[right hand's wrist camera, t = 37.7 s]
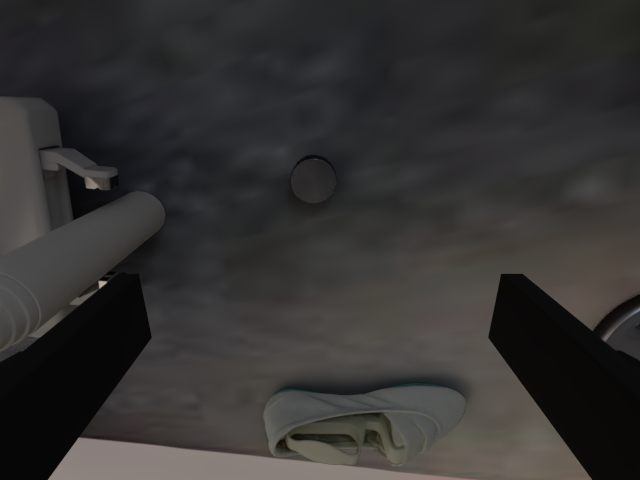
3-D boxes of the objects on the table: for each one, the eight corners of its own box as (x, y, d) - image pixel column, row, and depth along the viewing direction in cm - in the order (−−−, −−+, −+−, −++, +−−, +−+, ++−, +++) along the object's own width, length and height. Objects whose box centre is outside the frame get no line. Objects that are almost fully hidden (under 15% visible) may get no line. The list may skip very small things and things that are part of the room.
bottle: (175, 215, 35) (-43, 391, 14) (146, 242, 36) (-99, 444, 15) (139, 181, 34) (-161, 317, 12) (110, 210, 34) (-214, 382, 13)
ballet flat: (454, 427, 46) (481, 489, 38) (267, 427, 45) (258, 491, 38) (465, 376, 43) (496, 433, 35) (264, 376, 42) (253, 434, 35)
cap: (283, 170, 33) (281, 175, 31) (320, 145, 32) (320, 148, 30) (307, 205, 35) (307, 212, 33) (343, 182, 34) (345, 187, 32)
